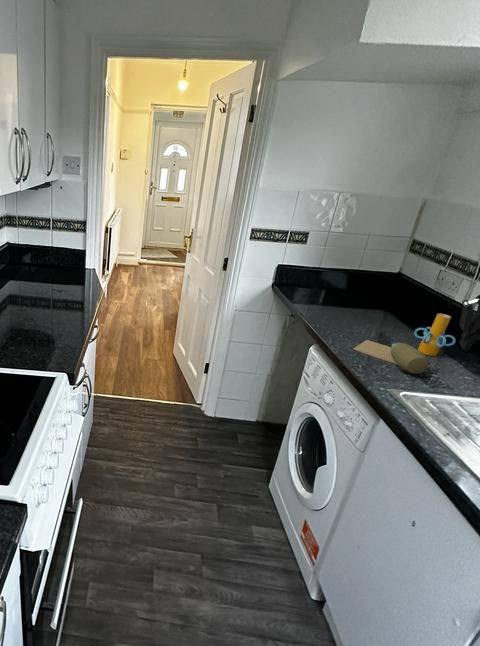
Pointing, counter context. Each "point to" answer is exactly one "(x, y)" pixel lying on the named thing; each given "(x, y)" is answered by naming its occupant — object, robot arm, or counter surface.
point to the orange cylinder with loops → (435, 336)
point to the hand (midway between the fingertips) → (464, 345)
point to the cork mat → (376, 350)
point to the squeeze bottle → (409, 358)
